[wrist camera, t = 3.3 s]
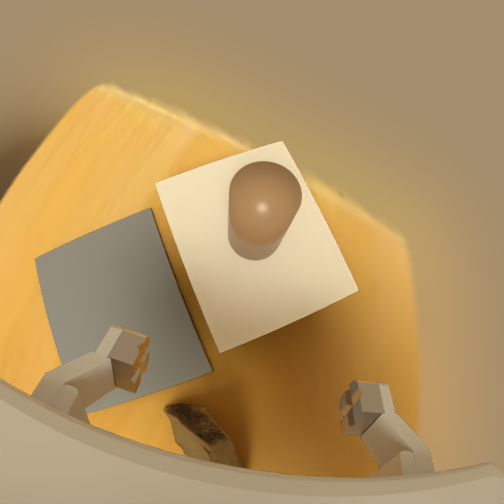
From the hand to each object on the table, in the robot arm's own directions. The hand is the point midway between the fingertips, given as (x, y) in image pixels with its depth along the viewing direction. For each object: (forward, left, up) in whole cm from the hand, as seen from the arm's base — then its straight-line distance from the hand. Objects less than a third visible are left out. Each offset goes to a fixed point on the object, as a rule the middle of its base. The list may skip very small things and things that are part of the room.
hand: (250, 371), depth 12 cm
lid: (+8, -5, -16) cm, 18 cm away
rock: (-9, +7, -21) cm, 24 cm away
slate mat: (+8, +11, -21) cm, 25 cm away
